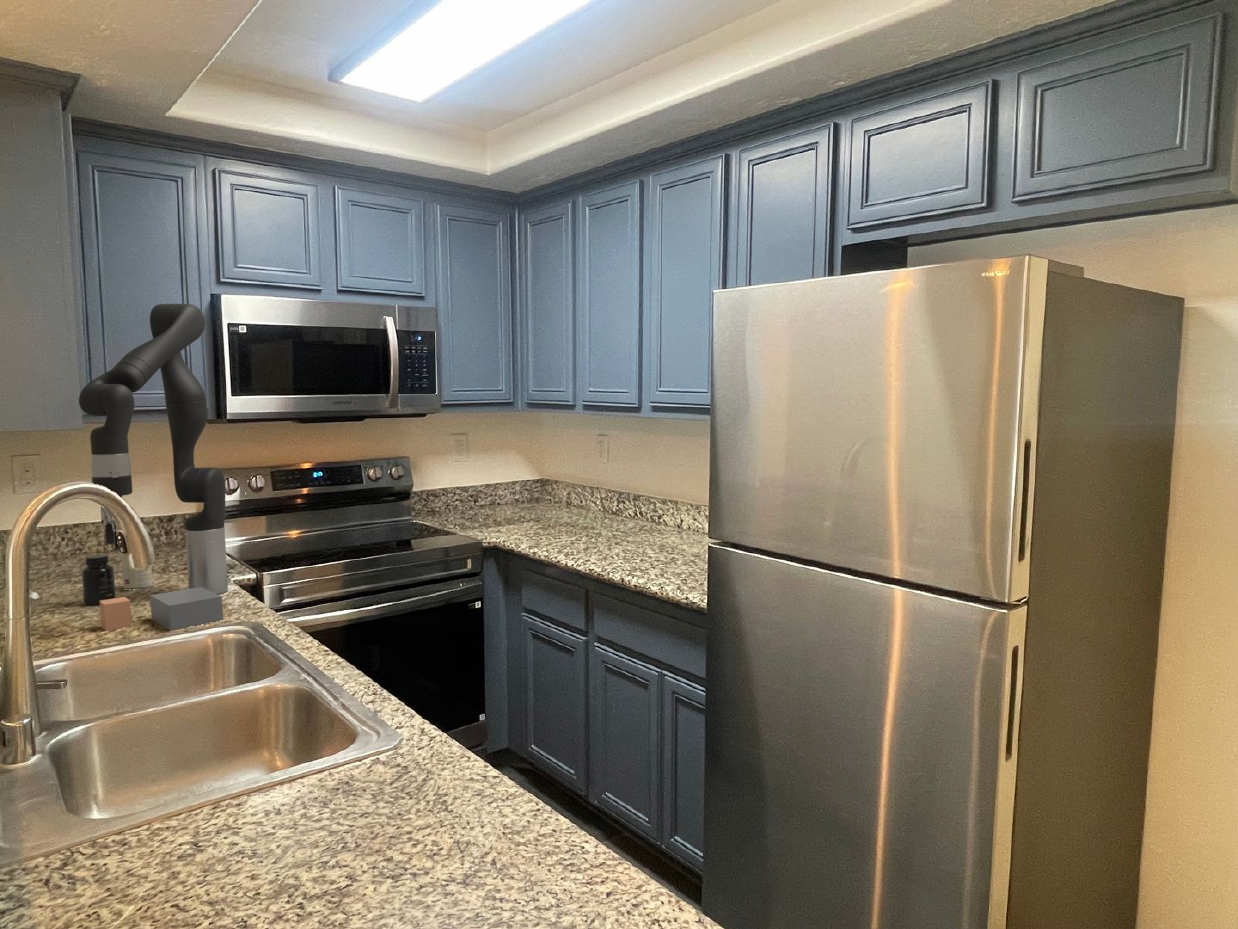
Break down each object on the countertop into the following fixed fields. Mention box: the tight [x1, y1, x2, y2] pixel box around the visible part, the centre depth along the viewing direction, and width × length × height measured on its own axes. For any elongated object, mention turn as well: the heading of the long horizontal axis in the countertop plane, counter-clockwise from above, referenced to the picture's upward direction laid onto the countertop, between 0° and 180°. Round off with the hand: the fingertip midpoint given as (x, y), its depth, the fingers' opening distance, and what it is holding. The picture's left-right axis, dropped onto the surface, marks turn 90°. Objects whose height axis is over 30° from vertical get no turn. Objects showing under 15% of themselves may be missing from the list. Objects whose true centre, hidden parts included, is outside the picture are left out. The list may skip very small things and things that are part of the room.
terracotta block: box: [99, 596, 133, 632], centre depth 181 cm, size 5×5×6 cm
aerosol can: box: [120, 524, 153, 590], centre depth 217 cm, size 7×7×20 cm
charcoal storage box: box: [149, 587, 224, 632], centre depth 185 cm, size 14×11×6 cm
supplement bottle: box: [81, 554, 116, 607], centre depth 202 cm, size 7×7×12 cm
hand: (116, 545), depth 179 cm, fingers open, 8 cm apart
